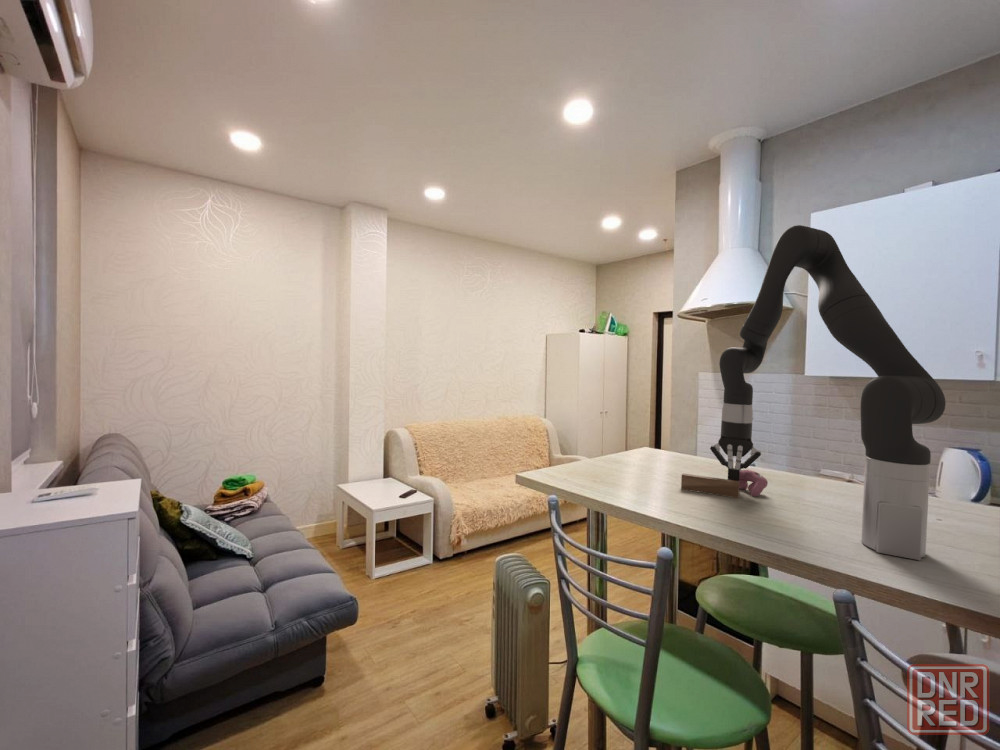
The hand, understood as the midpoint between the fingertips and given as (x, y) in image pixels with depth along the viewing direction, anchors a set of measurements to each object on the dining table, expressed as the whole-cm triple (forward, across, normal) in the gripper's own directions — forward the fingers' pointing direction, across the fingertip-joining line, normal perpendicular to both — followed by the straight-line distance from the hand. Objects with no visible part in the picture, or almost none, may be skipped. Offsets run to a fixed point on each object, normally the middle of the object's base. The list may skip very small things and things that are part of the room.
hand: (733, 481), depth 122 cm
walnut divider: (+2, -5, -7) cm, 9 cm away
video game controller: (+3, +3, +1) cm, 4 cm away
